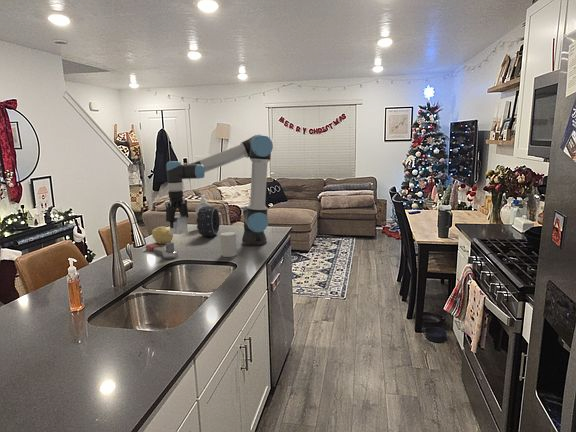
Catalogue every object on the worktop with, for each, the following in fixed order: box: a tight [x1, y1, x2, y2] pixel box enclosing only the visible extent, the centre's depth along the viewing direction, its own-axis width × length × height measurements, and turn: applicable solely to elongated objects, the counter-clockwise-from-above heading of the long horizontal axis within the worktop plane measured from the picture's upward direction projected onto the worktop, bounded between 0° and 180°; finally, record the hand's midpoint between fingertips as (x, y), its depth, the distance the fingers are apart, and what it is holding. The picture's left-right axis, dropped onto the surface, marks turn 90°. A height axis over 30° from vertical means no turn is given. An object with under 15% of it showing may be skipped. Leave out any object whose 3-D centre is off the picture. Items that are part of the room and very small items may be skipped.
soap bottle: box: [195, 194, 212, 217], centre depth 281 cm, size 13×8×24 cm, turn 83°
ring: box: [195, 205, 221, 237], centre depth 257 cm, size 11×20×20 cm, turn 174°
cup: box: [220, 231, 238, 258], centre depth 212 cm, size 8×8×12 cm
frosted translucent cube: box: [168, 214, 189, 235], centre depth 210 cm, size 7×7×9 cm
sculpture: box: [151, 225, 174, 245], centre depth 245 cm, size 12×12×11 cm
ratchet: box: [145, 241, 179, 260], centre depth 220 cm, size 30×8×8 cm, turn 45°
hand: (178, 232), depth 211 cm, fingers closed on frosted translucent cube, 7 cm apart
